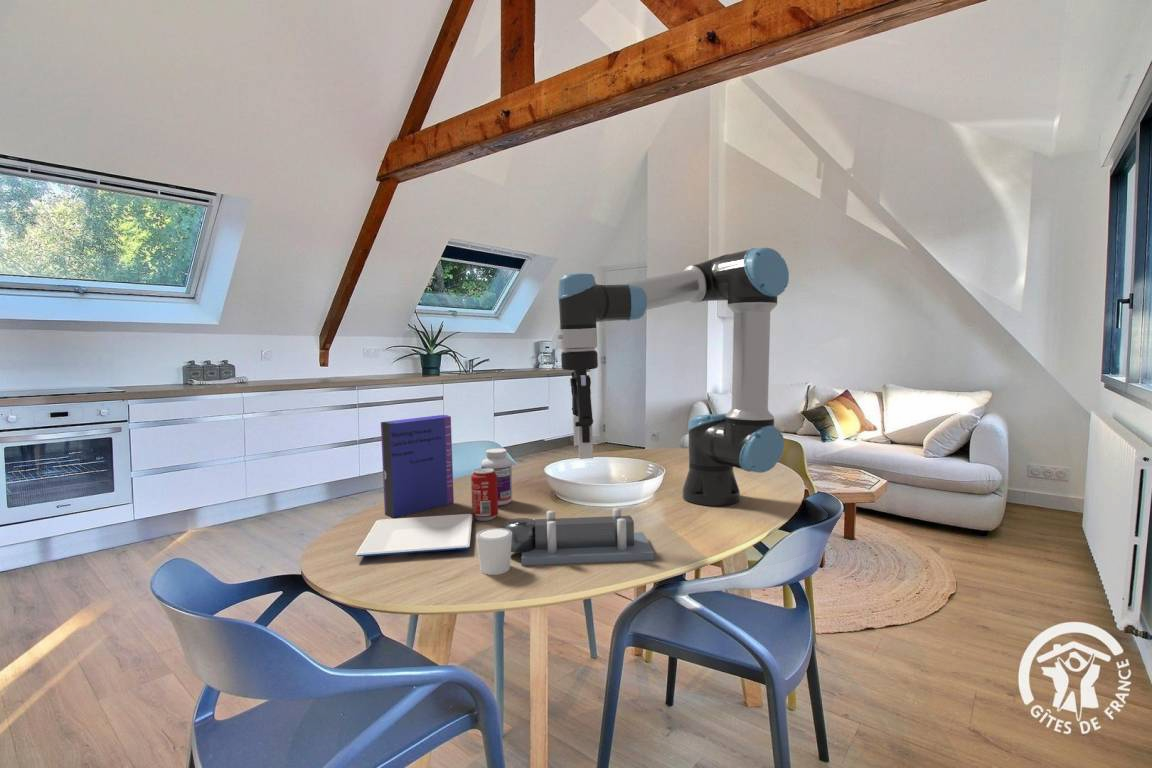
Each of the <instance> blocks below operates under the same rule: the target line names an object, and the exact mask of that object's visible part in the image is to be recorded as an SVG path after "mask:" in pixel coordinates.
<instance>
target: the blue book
mask: <svg viewBox="0 0 1152 768" xmlns="http://www.w3.org/2000/svg"><path fill="white" fill-rule="evenodd" d="M380 432H381V433H380V434H381V436H380V437H381V455H382V457H381V459H382V461H381V462H382V479H383V480H382V483H383V501H384V504H383V505H384V515H385V516H388V517H390V518H391V519H398V518H402V517H405V516H409V515H413V514H417V513H420V512H425V511H428V510H434V509H436V508H442V507H444V506H449V505H452V504H455V502H454V498H455V497H454V471H453V468H454V466H453V444H452V442H453V441H452V439H453V437H452V417H451V416H450V415H448V414H440V415H439V414H438V415H431V416H430V415H429V416H421V417H413V418H406V419H405V418H404V419H396V420H389V421H381V422H380Z"/></svg>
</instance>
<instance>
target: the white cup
mask: <svg viewBox="0 0 1152 768" xmlns="http://www.w3.org/2000/svg"><path fill="white" fill-rule="evenodd" d="M475 537H476V538H475V539H476V545H477V546H476V547H477V554H478V562H479V569H480V572H481V574H484V575H487V574H488V575H489V576H497V575H502V574H505V573H507V572H509V571H510V569H511V557H512V556H511V555H512V552H511V543H512V532H511V531H510V530H508V529H505V527H502V528H501V527H492V528H485V529H482V530H480V531H477V533H476V535H475ZM488 575H487V576H488Z"/></svg>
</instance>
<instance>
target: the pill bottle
mask: <svg viewBox="0 0 1152 768" xmlns="http://www.w3.org/2000/svg"><path fill="white" fill-rule="evenodd" d="M507 454H508V453H507V449H505V448H489V449H486V450H485V457H486V458H484V459H483V460H482V461H481V468H492V469H494V472H495V473H496V475H497V493H498V507H499V506H506V505H508V504H509V503H511V502H512V500H513V481H512V479H513V478H512V477H513V475H512V469H513V468H512V461H511V459H510V458H509V457H506V456H507Z"/></svg>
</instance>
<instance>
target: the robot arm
mask: <svg viewBox="0 0 1152 768" xmlns="http://www.w3.org/2000/svg"><path fill="white" fill-rule="evenodd" d="M787 264H788V263H787V262H786V260H785V259H784V257H782V255H781V253H779V252H778V251H777V250H775V249H773V248H771V247H759V248H758V247H757V248H754V247H753V248H751V249H747V250H742V251H739V252H737V251H736V252H732V253H728V254H723V255H721V256H720V255H719V256H717V257H714V258H711V259H709V260H707V261H703V262H700V263H697V264H692V265H688V266H686V267H685V268H684V269H683V271H677V272H672V273H667V274H663V275H657V276H652V277H648V278H643V279H637V280H632V281H627V282H623V283H618V284H598V283H596V282H597V281H596V277H595V276H594V275H593V274H591V273H585V272H584V273H570V274H569V273H568V274H564V275H562V276H561V277H559V280H558V295H557V296H558V297H557V299H558V307H559V308H558V309H559V327H560V328H559V329H560V333H561V334H558V335H557V339H558V340H561V341H560V347H561V349H562V350H564V351H562V352H561V354H560V356H561V358H560V360H561V361H560V362H561V368H562V370H564V371H572V372H571V378H570V380H569V382H570V388H571V397H572V398H571V401H572V402H571V403H572V404H571V405H572V406H571V411H572V415H573V416H572V422H573V425H572V426H573V427H572V428H573V430H572V431H573V446H574V447H576V446H578V458H579V460H585V459H586V460H588V459H594V447H593V446H594V445H593V443H594V441H593V423H594V419H593V406H592V397H591V396H592V395H591V394H592V392H591V390H592V389H591V384H592V382H591V376H590V375H589V374H588V372H587V371H588V370H595V369H597V368H598V366H599V358H598V351H597V350H596V348H598V327H597V323H598V322H599V323H601V322H614V321H615V322H616V321H629V322H630V321H633V320H640V319H642V317H643V316H645V314H646V312H647V311H648V310H652V309H656V308H661V307H665V306H666V307H667V306H670V305H675V304H678V303H683V302H688V301H689V302H691V303H693V304H696V303H701V302H710V301H727V307H728V308H729V309H730V310H731V311H732V312H733V326H732V327H733V328H732V329H733V330H732V331H733V332H732V337H733V338H732V340H733V341H732V373H731V375H732V377H731V380H732V381H731V382H732V384H731V385H732V386H731V409H730V410H729V411H728V412H727V413H712V414H700V415H694V416H691V417H690V419H689V421H688V422H689V423H688V429H687V431H688V472H687V475H686V478H685V481H684V484H683V488H682V499H684V500H685V501H687V502H688V503H693V504H696V505H702V506H713V507H715V506H716V507H718V506H719V507H720V506H730V505H734V504H737V503H738V502H740V499H741V498H740V497H741V496H740V495H741V491H740V488H739V485H738V482H737V479H736V476H735V472H734V468H736V469H739V470H740V469H741V470H743V471H746V472H754V473H757V474H758V473H761V474H762V473H766V472H768V471H769V472H770V470H772V469H773V468H774V467H775V466H776V464H777V463H778V462H779V461H780V459H781V458H782V456H783V453H784V449H785V439H784V435H783V434H782V432H781V430H779V428H777V427H776V426H775V416H774V415H773V414H772V413H771V411H769V383H770V382H769V377H770V375H769V374H770V373H769V371H770V344H771V343H770V337H771V336H770V335H771V312H772V311H773V310H774V309H775V308H776V307H777V306H778V296H780V295H781V294H782V293H784V292H785V290H786V288H787V287H788V284H789V281H790V273H789V268H788V265H787Z"/></svg>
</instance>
